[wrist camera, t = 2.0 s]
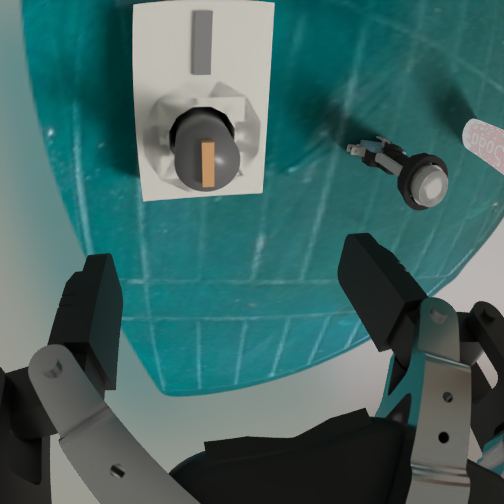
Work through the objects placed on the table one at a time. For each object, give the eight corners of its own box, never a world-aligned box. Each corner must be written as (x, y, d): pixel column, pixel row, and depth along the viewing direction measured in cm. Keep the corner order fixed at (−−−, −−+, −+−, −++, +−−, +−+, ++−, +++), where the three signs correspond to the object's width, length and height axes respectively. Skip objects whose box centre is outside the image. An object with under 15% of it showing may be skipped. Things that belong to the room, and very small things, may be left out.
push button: (340, 168, 31) (391, 215, 24) (349, 121, 28) (409, 155, 20) (389, 172, 33) (443, 216, 25) (399, 129, 30) (461, 164, 22)
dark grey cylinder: (176, 105, 24) (172, 134, 16) (221, 103, 25) (243, 131, 17) (177, 147, 27) (176, 198, 18) (221, 145, 27) (241, 193, 19)
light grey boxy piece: (141, 12, 18) (132, 4, 15) (260, 10, 20) (275, 2, 17) (148, 180, 28) (143, 203, 24) (251, 173, 30) (263, 194, 26)
